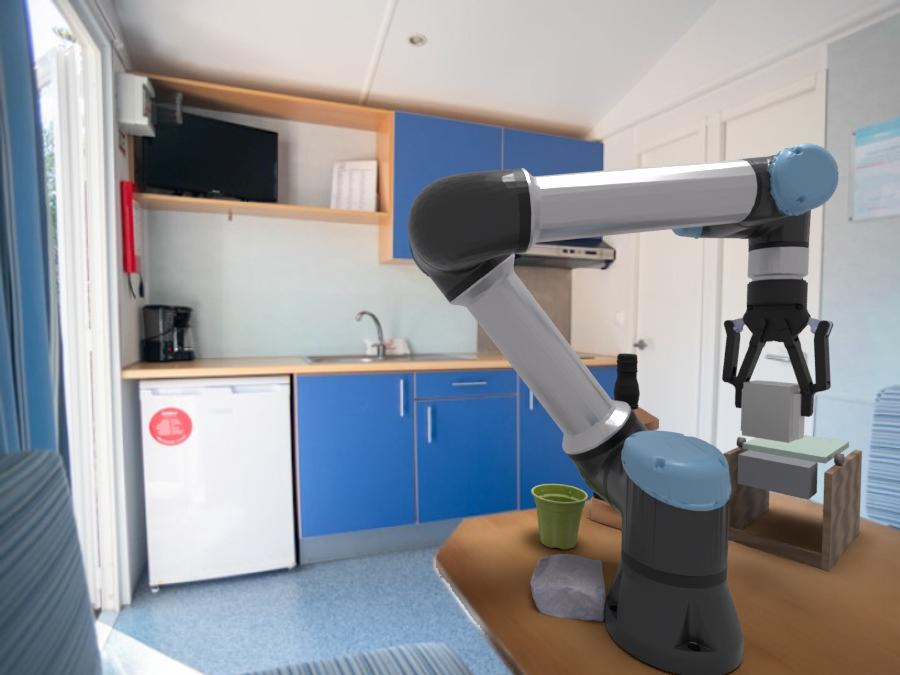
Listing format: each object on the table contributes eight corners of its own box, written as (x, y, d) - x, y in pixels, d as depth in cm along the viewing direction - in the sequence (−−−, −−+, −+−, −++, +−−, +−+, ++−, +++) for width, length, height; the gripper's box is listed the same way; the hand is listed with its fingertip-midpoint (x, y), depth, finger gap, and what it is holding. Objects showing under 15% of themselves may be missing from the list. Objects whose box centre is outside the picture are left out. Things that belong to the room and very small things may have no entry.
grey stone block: (788, 442, 69) (790, 386, 69) (741, 435, 74) (743, 382, 73) (800, 437, 73) (802, 384, 73) (755, 430, 77) (757, 380, 77)
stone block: (533, 629, 63) (613, 625, 61) (526, 591, 63) (605, 586, 61) (538, 585, 74) (605, 580, 72) (532, 553, 75) (599, 547, 72)
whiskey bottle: (613, 505, 101) (616, 351, 100) (661, 519, 94) (664, 354, 93) (586, 518, 94) (589, 353, 93) (636, 535, 87) (639, 356, 86)
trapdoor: (816, 501, 75) (817, 462, 75) (731, 482, 84) (732, 447, 84) (848, 474, 89) (849, 441, 89) (772, 460, 99) (773, 430, 98)
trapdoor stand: (829, 571, 75) (832, 461, 74) (721, 537, 86) (723, 442, 86) (859, 532, 89) (862, 440, 89) (763, 507, 101) (765, 426, 100)
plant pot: (558, 526, 90) (559, 480, 90) (598, 546, 82) (599, 495, 82) (519, 538, 85) (520, 489, 85) (558, 560, 77) (559, 506, 77)
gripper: (864, 277, 68) (858, 442, 68) (718, 284, 82) (714, 420, 83) (852, 273, 63) (846, 450, 64) (699, 281, 77) (695, 426, 78)
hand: (771, 433), depth 73 cm, fingers closed on grey stone block, 6 cm apart
